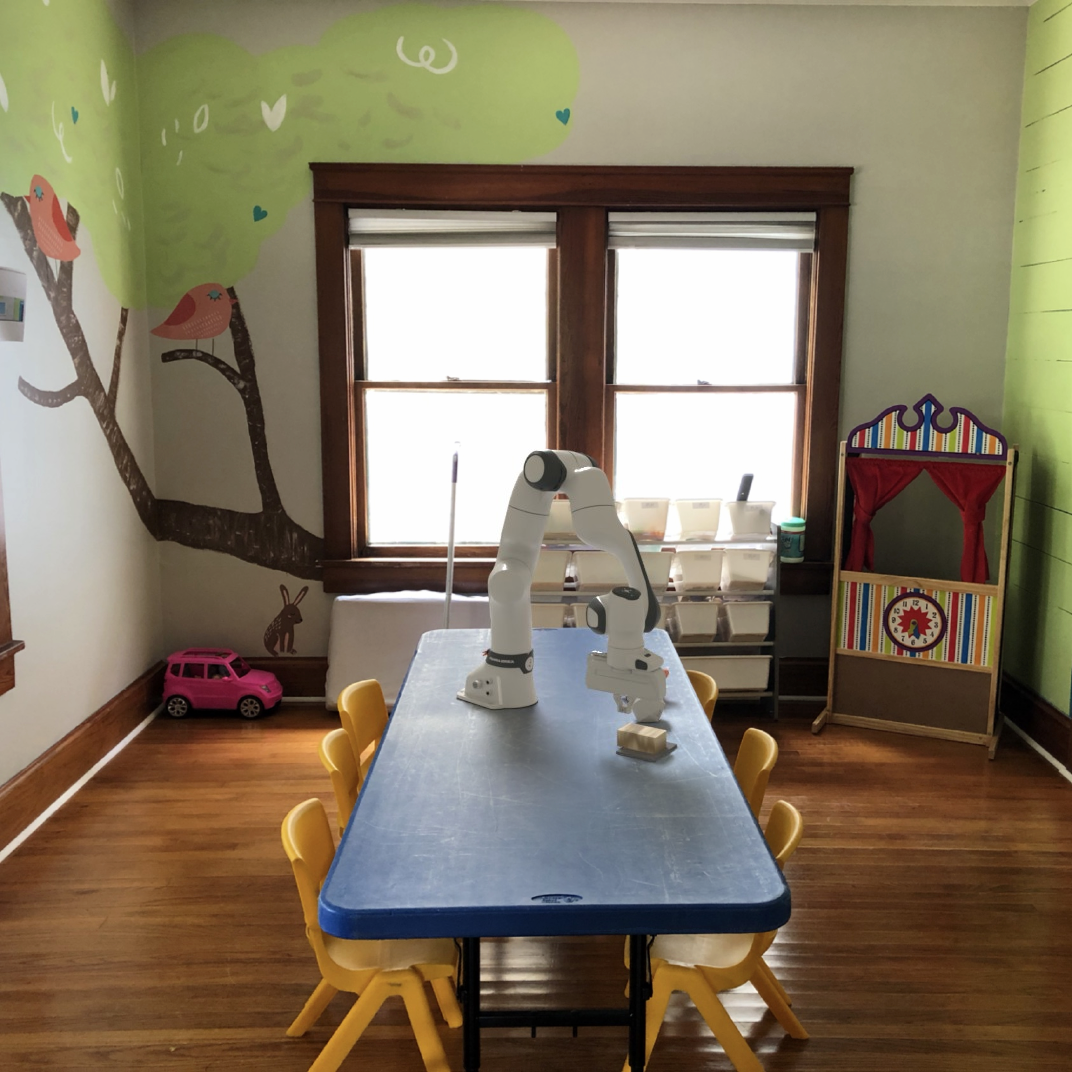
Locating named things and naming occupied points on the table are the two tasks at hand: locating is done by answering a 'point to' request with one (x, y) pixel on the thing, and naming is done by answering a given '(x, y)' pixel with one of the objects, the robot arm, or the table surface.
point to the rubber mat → (647, 755)
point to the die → (648, 710)
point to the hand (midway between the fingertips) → (624, 712)
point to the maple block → (641, 738)
